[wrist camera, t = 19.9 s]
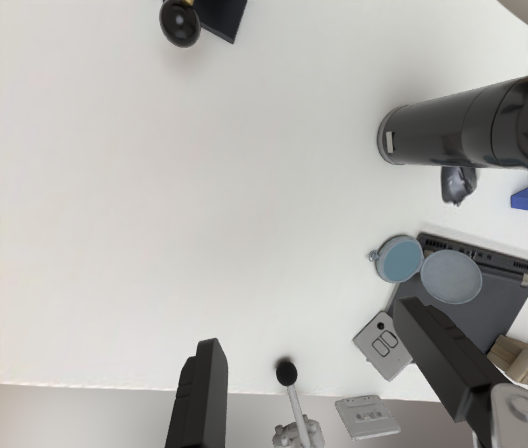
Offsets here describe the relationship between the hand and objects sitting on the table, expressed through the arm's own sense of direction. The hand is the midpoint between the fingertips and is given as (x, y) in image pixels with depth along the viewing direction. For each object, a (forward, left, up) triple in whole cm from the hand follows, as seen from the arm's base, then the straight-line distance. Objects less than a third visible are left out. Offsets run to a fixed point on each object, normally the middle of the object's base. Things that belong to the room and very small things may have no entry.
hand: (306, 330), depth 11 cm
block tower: (-60, +69, -29) cm, 95 cm away
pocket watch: (-27, +22, -29) cm, 45 cm away
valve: (+4, +44, -29) cm, 53 cm away
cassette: (-11, +55, -29) cm, 63 cm away
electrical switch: (-19, +37, -29) cm, 51 cm away
